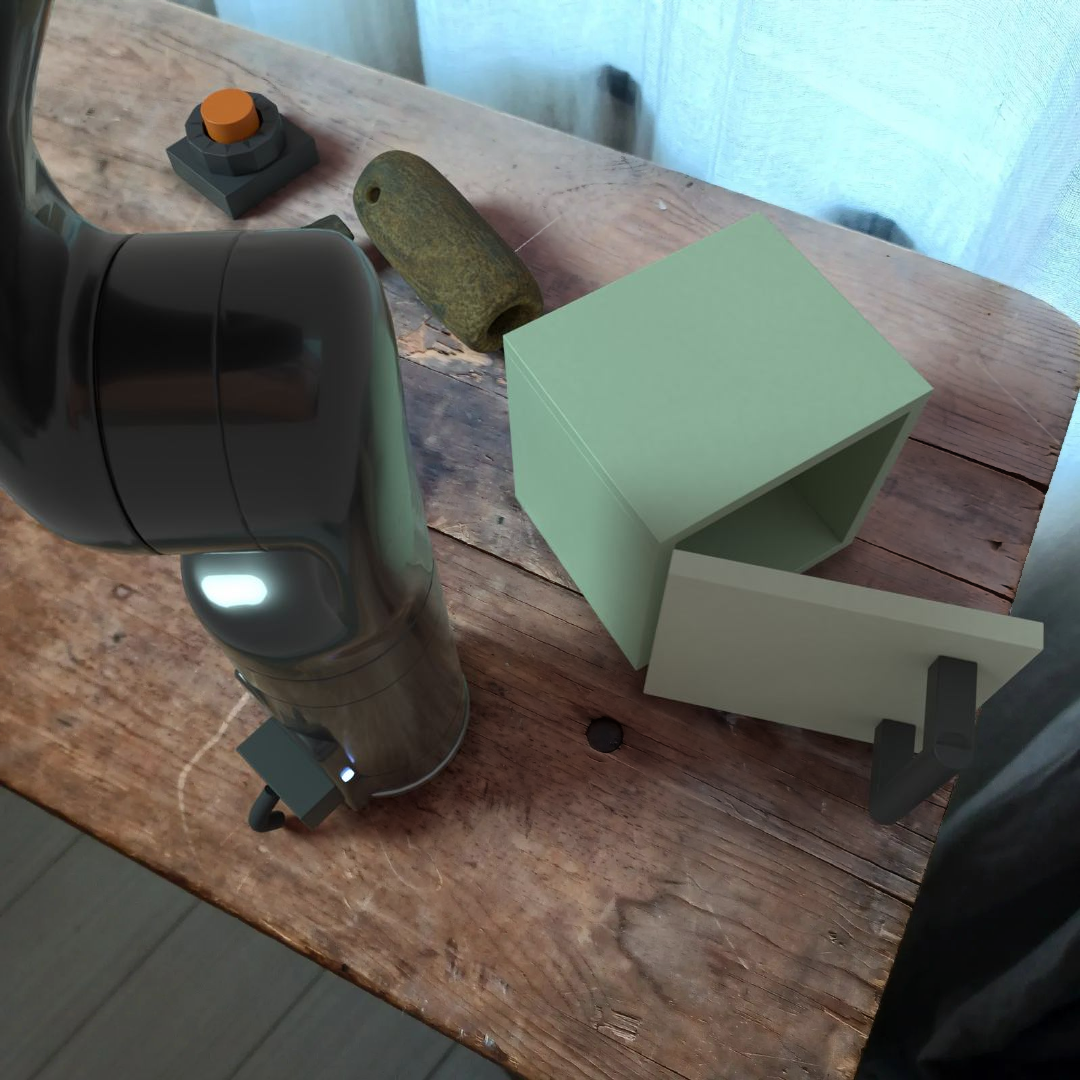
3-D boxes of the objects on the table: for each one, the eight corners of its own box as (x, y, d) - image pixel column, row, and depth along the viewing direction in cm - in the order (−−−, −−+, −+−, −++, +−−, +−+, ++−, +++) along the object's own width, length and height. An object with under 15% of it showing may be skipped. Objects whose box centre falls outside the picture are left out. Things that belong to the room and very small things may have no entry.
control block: (234, 221, 72) (217, 176, 69) (174, 173, 75) (155, 128, 71) (320, 162, 75) (308, 116, 71) (260, 117, 77) (246, 71, 74)
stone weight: (343, 249, 71) (324, 173, 65) (424, 201, 73) (412, 123, 67) (478, 382, 65) (470, 312, 59) (561, 325, 67) (561, 253, 61)
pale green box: (851, 543, 59) (935, 388, 46) (636, 671, 56) (659, 543, 43) (719, 389, 65) (760, 210, 51) (515, 497, 61) (502, 335, 48)
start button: (229, 152, 70) (222, 131, 69) (197, 127, 72) (189, 106, 70) (270, 125, 72) (263, 104, 70) (238, 102, 73) (231, 80, 71)
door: (920, 847, 51) (1043, 766, 38) (625, 779, 53) (646, 680, 40) (927, 733, 54) (1044, 622, 41) (646, 673, 56) (673, 548, 43)
